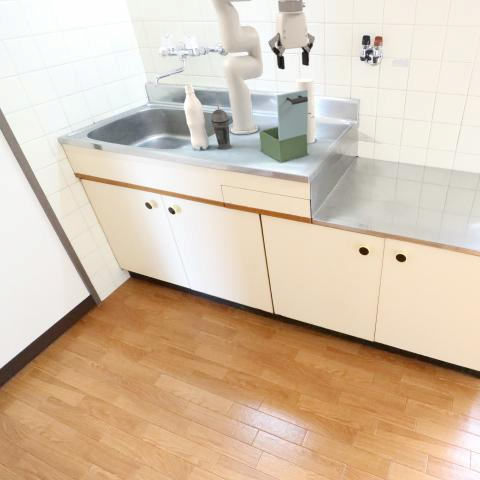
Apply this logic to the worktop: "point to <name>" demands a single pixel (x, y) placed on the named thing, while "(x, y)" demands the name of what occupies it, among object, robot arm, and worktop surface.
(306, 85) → the cylindrical container
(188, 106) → the water bottle
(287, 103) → the grey lid with handle
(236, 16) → the robot arm
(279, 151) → the box
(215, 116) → the beverage cup
